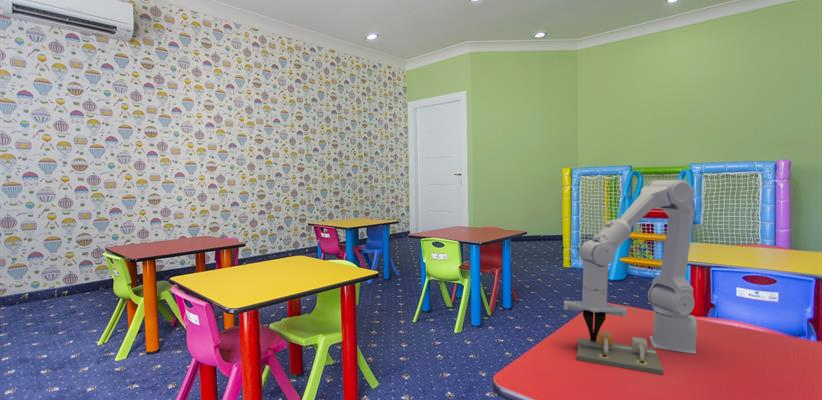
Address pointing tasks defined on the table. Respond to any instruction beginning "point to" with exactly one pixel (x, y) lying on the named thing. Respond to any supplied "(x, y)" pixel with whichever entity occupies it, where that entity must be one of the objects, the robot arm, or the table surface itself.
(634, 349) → the fixed leg
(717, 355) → the table surface
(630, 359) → the plate
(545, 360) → the table surface
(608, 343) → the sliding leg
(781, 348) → the table surface
